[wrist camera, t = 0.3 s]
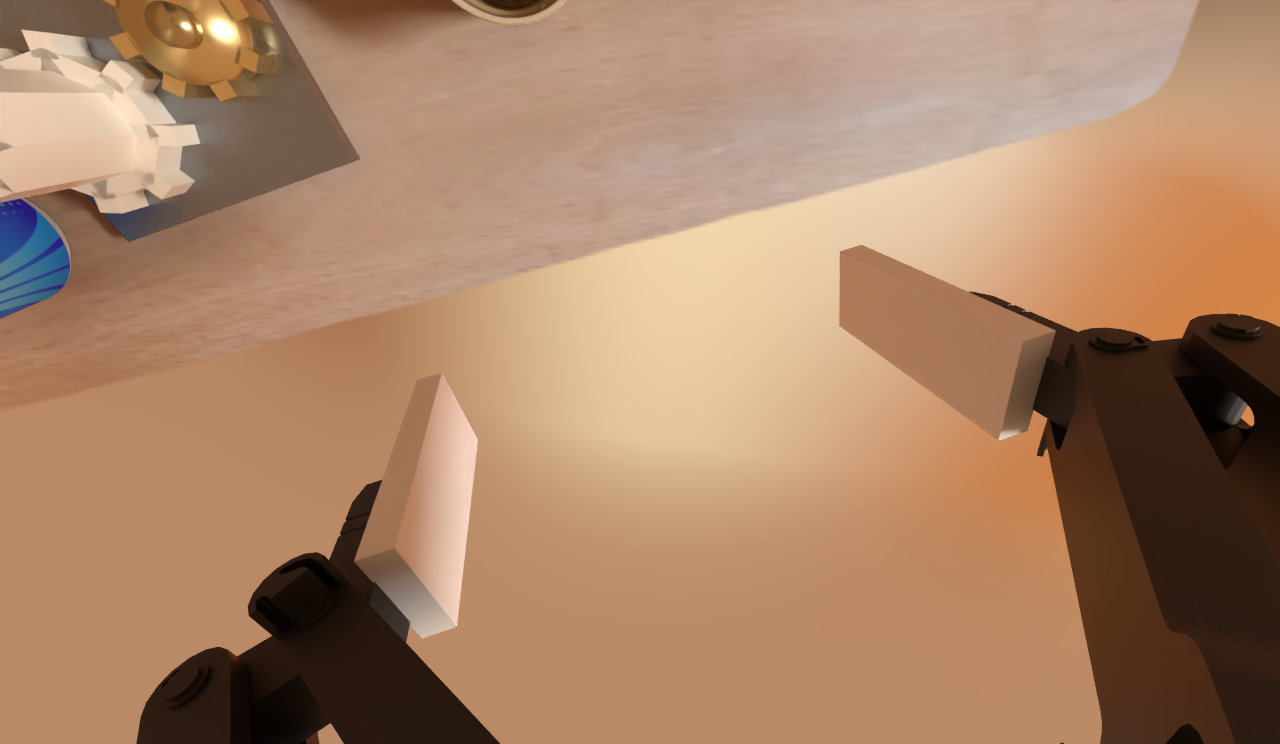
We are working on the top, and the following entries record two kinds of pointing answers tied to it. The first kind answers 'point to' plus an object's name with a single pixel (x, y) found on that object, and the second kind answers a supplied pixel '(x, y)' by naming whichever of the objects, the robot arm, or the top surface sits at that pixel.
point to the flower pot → (511, 10)
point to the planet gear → (86, 127)
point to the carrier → (206, 93)
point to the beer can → (30, 256)
